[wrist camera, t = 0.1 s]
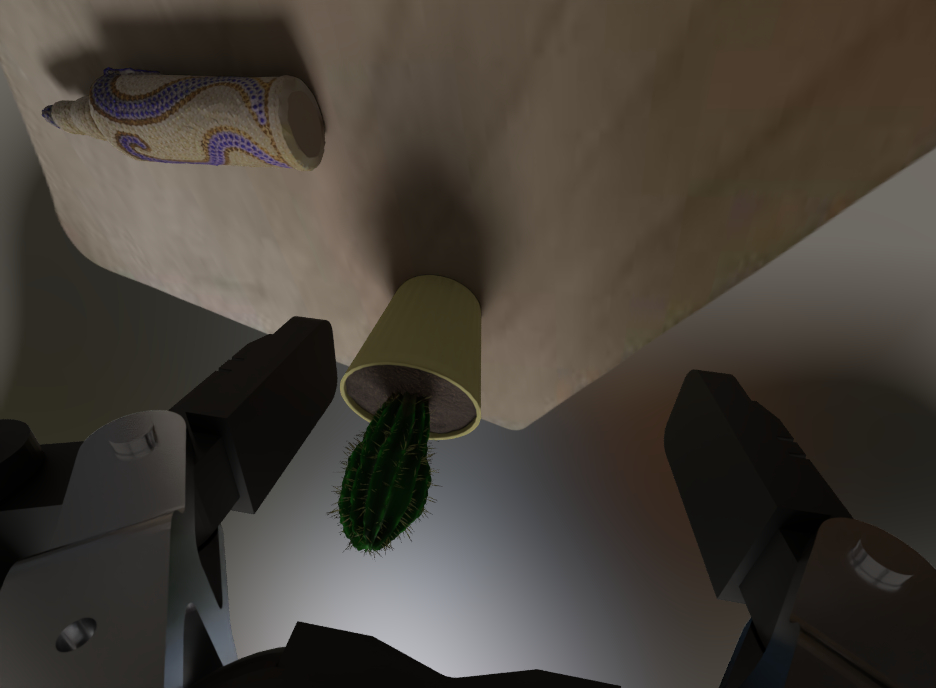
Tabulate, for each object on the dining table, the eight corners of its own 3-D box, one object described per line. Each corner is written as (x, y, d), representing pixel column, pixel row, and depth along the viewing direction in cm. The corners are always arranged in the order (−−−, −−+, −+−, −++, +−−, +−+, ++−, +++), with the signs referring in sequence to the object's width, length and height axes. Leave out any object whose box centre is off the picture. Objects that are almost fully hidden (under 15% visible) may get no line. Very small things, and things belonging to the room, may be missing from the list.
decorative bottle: (309, 58, 35) (272, 92, 31) (334, 149, 41) (307, 188, 36) (36, 52, 38) (-30, 82, 34) (97, 137, 44) (47, 171, 40)
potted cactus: (440, 358, 63) (383, 583, 45) (357, 297, 56) (245, 536, 37) (522, 319, 54) (492, 583, 35) (435, 239, 46) (338, 521, 28)
